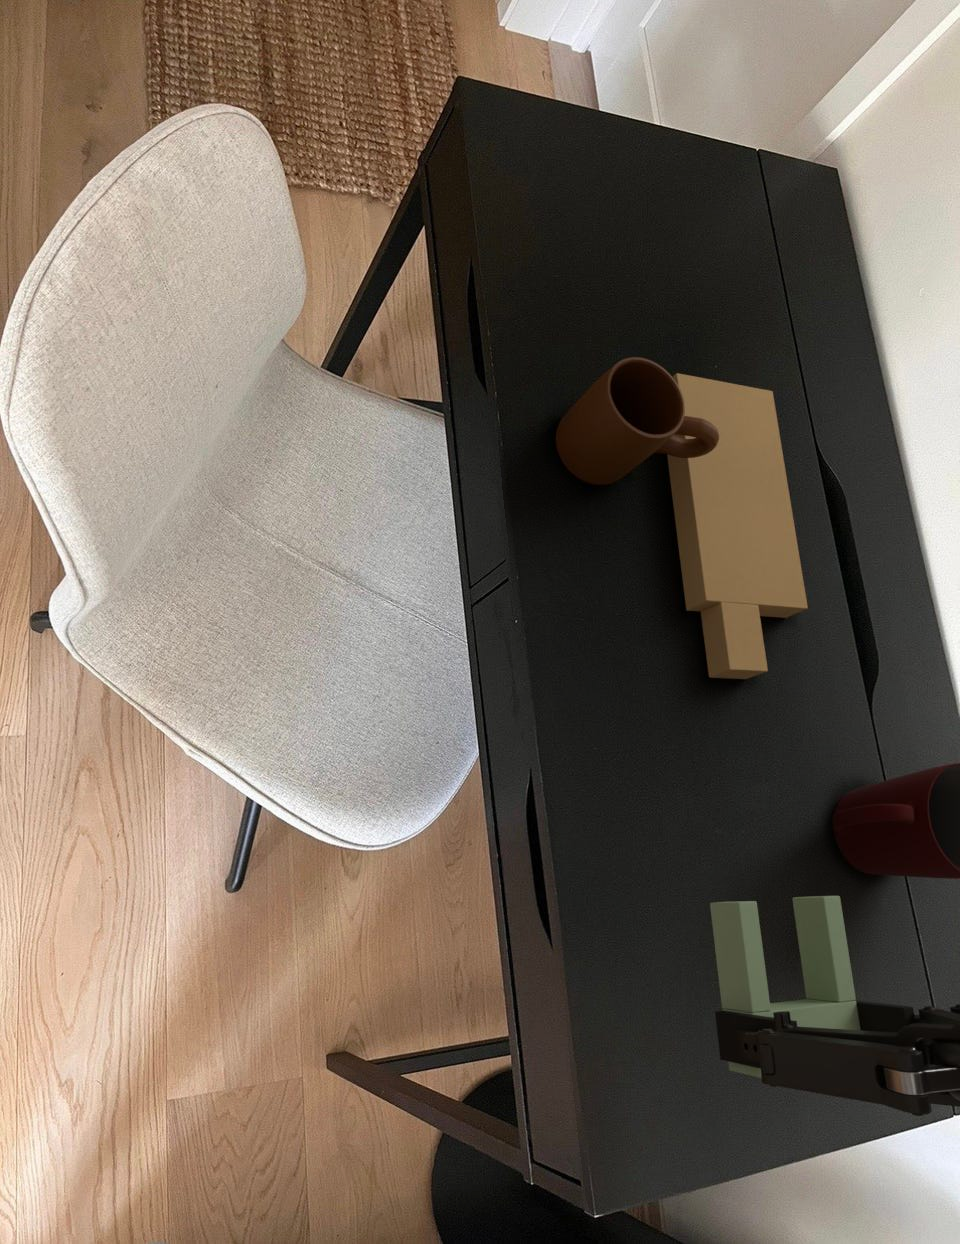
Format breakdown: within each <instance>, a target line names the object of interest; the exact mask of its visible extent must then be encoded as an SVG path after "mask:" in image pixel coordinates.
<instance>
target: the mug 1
mask: <svg viewBox="0 0 960 1244" xmlns="http://www.w3.org/2000/svg"><path fill="white" fill-rule="evenodd" d="M684 414H685V404H684V399H683V395H682V392H681V390H680V388H679V386H678V384H677V383H676V381H675V380H674V378H673V376H672V375H671V374H670V372H668V370H666V368H664V367H663V366H661V365H660V364H659V363H657V362H655V361H653V360H650V359H648V358H644V357H638V356H635V357H634V356H632V357H626V358H623V359H621V360H619V361H618V362H616V363H615V364H614V365H612V366H611V367H610V368H609V369H607V370H606V371H605V372H604V373H602V375H601V376H600V377H599V378H597V380H596V381H595V382H594V383H593V384H592V385H591V386H590V387H589V388H588V389H587V390H586V391H585V393H584V394H583V395H581V396H580V398H579V399H578V400H577V401H576V402H575V403H574V404H573V405H572V406H571V407H570V408H569V409H568V411H567V412H566V413H565V414H564V415H563V416H562V418H561V419H560V421H559V423H558V425H557V428H556V432H555V446H556V450H557V453H558V456H559V459H560V461H561V462H562V464H563V466H565V468H566V469H567V470H568V471H569V472H570V473H571V475H573V476H574V477H576V478H577V479H579V480H580V481H582V482H584V483H587V484H590V485H594V486H595V485H596V486H607V485H611V484H613V483H616V482H617V481H619V480H621V479H623V478H624V477H625V476H626V475H628V474H629V473H630V472H632V471H633V470H634V469H635V468H636V467H638V466H639V465H641V464H642V463H643V462H644V461H645V460H647V459H649V457H650V456H652V455H653V454H665V455H667V454H668V455H671V456H674V457H679V458H695V457H700V456H703V455H706V454H708V453H709V452H711V451H712V450H713V449H714V448H715V447H716V446H717V443H718V441H719V433H718V430H717V428H716V427H715V426H714V425H713V424H712V423H710V422H708V421H707V420H705V419H702V418H696V417H690V416H684ZM674 434H678V435H684V436H690V437H696V438H693V439H683V438H679V437H677V436H674Z"/></svg>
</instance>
